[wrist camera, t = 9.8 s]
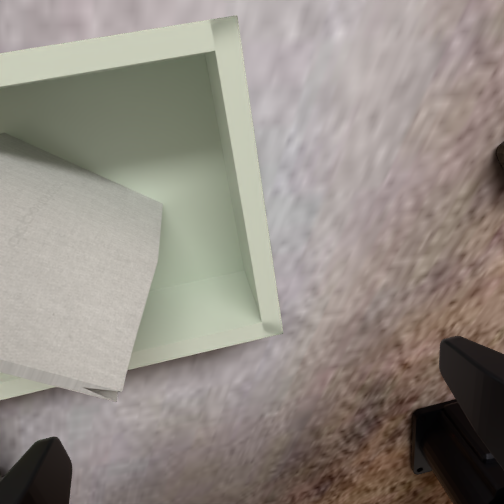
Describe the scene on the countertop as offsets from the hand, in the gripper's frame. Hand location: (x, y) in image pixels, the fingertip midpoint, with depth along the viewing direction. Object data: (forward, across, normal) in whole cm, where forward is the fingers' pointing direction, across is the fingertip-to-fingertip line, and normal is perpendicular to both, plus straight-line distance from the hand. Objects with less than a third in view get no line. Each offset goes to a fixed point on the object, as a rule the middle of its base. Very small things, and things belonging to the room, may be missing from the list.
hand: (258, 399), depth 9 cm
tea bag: (+11, +6, -2) cm, 13 cm away
